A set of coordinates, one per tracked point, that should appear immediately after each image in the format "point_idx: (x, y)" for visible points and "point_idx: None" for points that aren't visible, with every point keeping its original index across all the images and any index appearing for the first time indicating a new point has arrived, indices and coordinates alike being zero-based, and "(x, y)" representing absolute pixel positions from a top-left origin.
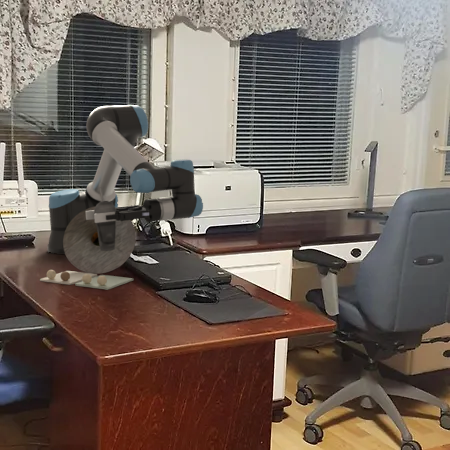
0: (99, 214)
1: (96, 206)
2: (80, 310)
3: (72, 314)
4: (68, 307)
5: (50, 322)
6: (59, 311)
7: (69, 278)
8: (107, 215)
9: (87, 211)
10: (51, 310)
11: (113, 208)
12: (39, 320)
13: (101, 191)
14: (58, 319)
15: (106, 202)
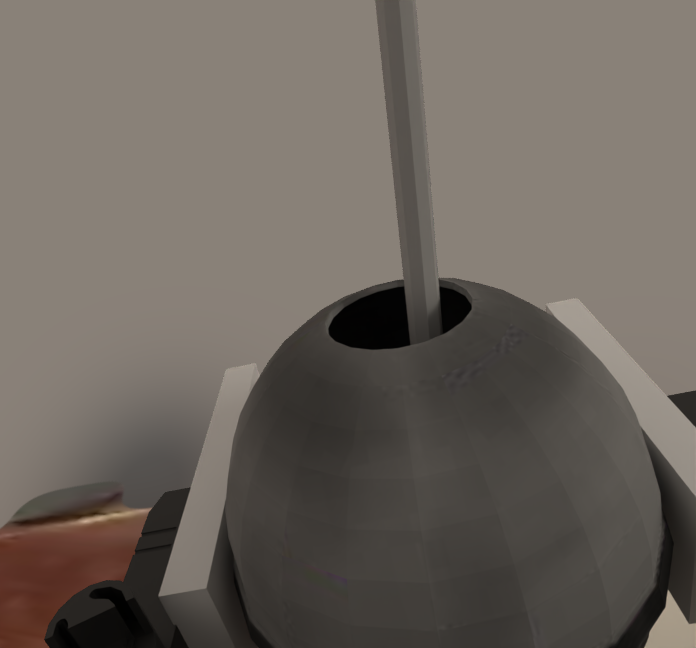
0: (219, 409)
1: (394, 310)
2: (40, 612)
3: (26, 579)
4: (119, 577)
5: (23, 514)
6: (102, 544)
7: (662, 641)
8: (160, 500)
9: (550, 313)
10: (138, 523)
11: (249, 546)
12: (72, 490)
13: (385, 70)
14: (25, 535)
15: (294, 345)
